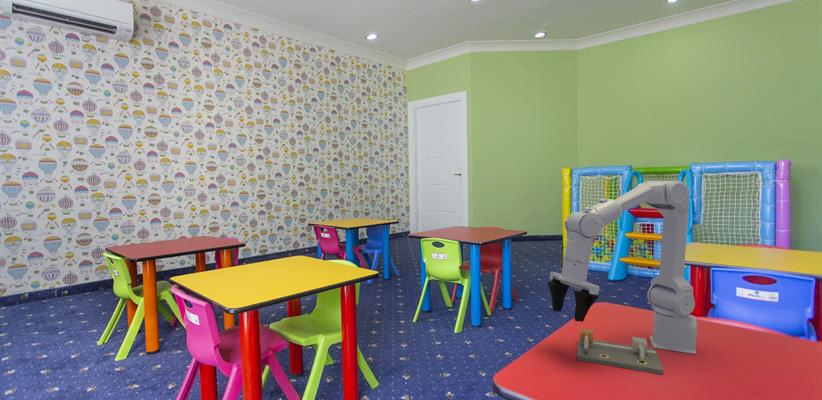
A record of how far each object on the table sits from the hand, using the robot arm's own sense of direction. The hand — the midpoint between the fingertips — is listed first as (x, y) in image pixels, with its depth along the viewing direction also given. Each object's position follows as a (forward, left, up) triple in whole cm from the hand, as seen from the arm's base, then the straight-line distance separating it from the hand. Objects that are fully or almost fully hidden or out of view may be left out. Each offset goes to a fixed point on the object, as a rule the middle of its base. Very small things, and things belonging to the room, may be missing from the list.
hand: (567, 315), depth 101 cm
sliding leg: (-4, -5, -9) cm, 11 cm away
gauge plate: (-11, -6, -10) cm, 16 cm away
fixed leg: (-16, -5, -9) cm, 19 cm away
